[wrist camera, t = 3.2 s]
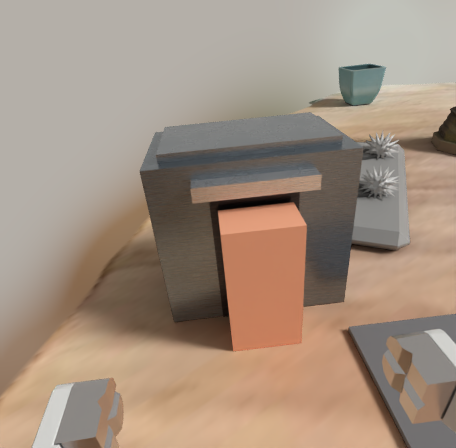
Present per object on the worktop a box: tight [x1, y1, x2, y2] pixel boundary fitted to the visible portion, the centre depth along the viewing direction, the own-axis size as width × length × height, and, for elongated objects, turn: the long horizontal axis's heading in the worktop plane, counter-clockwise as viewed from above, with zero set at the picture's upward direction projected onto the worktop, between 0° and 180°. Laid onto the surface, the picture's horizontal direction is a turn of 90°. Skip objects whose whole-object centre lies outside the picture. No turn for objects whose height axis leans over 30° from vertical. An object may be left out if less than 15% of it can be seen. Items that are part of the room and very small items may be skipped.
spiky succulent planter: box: [351, 131, 410, 250], centre depth 46 cm, size 30×22×7 cm
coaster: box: [348, 314, 456, 448], centre depth 21 cm, size 9×9×1 cm
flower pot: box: [339, 64, 386, 106], centre depth 87 cm, size 9×9×9 cm
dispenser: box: [140, 112, 364, 322], centre depth 27 cm, size 10×14×14 cm
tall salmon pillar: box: [218, 202, 307, 351], centre depth 23 cm, size 3×5×10 cm, turn 95°
